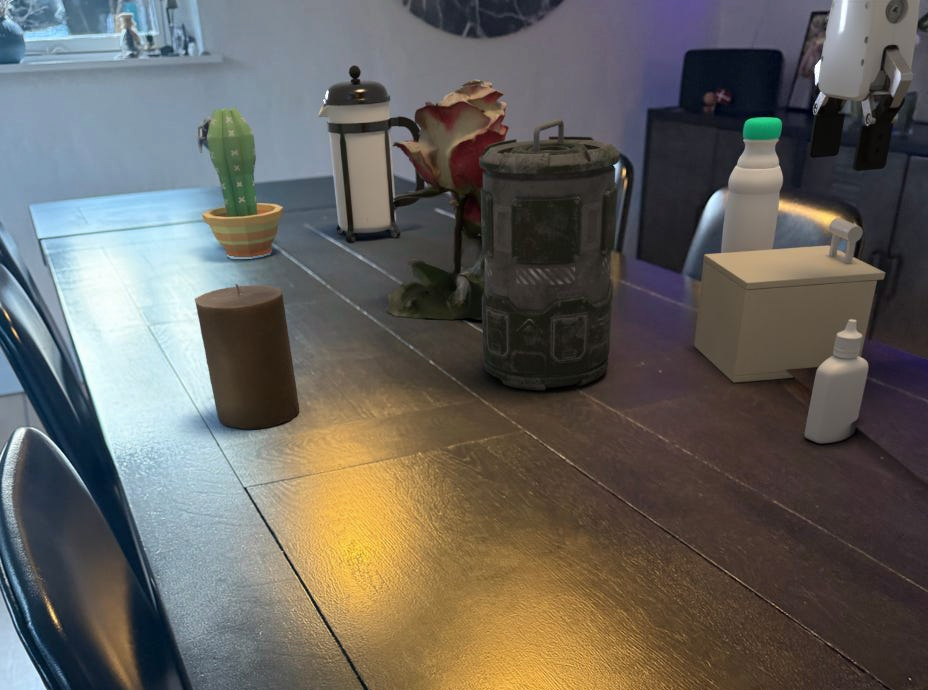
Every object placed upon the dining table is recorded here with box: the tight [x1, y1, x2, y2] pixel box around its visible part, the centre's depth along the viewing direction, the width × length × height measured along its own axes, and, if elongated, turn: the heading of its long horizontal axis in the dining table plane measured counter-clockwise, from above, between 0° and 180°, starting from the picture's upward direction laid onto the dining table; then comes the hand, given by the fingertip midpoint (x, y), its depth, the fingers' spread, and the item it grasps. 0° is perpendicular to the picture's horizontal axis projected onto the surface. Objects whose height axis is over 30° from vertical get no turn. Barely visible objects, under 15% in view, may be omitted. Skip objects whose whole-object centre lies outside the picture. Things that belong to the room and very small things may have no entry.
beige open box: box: [693, 260, 878, 383], centre depth 115 cm, size 16×15×11 cm
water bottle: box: [720, 116, 784, 253], centre depth 128 cm, size 7×7×25 cm
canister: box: [479, 118, 621, 392], centre depth 110 cm, size 16×16×28 cm
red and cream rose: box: [367, 79, 510, 321], centre depth 139 cm, size 26×29×30 cm
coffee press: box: [317, 65, 426, 243], centre depth 184 cm, size 17×16×30 cm
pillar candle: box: [194, 283, 300, 430], centre depth 106 cm, size 10×10×15 cm
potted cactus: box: [195, 107, 284, 257], centre depth 175 cm, size 15×15×25 cm
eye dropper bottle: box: [803, 319, 869, 445], centre depth 94 cm, size 4×6×12 cm
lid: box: [703, 217, 886, 290], centre depth 111 cm, size 16×15×5 cm
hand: (844, 162), depth 97 cm, fingers open, 9 cm apart
